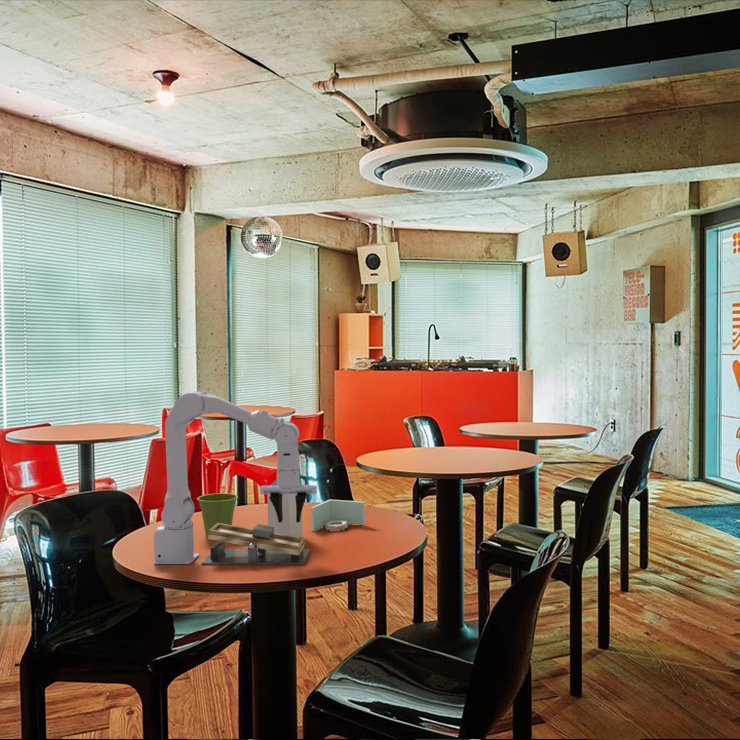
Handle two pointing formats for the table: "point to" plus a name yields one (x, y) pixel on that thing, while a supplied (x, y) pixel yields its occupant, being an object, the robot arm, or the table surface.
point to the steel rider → (263, 532)
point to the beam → (256, 539)
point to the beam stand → (252, 556)
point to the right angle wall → (337, 514)
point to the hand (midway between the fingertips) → (289, 521)
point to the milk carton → (285, 516)
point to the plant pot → (217, 509)
